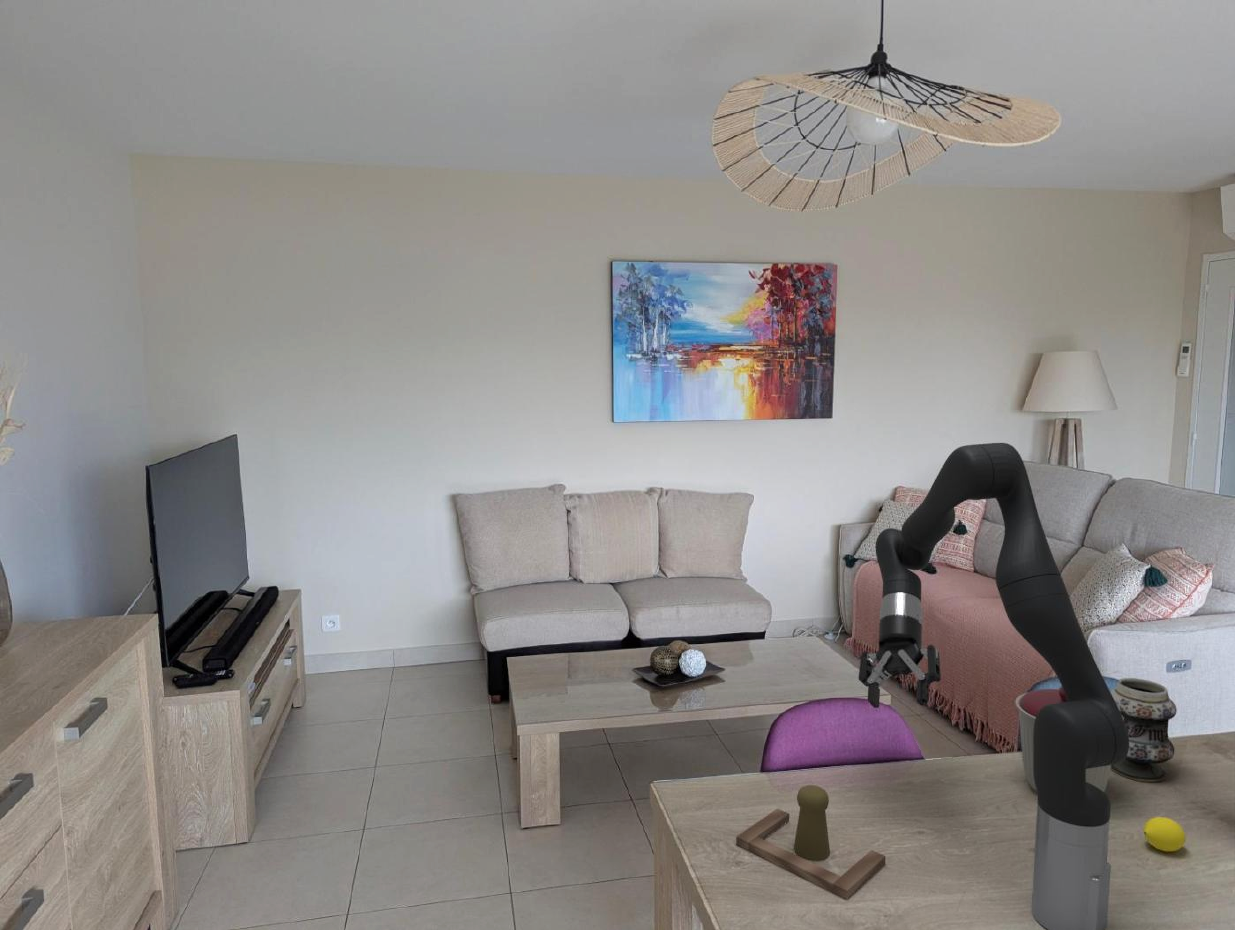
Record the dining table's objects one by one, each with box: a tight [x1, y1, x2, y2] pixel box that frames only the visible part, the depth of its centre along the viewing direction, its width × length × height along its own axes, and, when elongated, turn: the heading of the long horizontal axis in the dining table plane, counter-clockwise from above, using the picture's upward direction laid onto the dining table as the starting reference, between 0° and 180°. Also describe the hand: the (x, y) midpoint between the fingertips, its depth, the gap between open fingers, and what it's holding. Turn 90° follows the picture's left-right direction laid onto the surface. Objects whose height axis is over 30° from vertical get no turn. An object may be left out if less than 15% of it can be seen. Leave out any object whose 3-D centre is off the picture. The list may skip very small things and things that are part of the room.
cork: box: [793, 784, 831, 862], centre depth 137 cm, size 6×6×11 cm
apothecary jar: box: [1109, 677, 1178, 783], centre depth 163 cm, size 12×12×18 cm
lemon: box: [1143, 816, 1186, 853], centre depth 137 cm, size 7×5×5 cm
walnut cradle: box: [735, 808, 886, 900], centre depth 136 cm, size 21×12×2 cm, turn 45°
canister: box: [1015, 685, 1124, 793], centre depth 155 cm, size 18×18×21 cm
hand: (897, 705), depth 142 cm, fingers open, 8 cm apart
